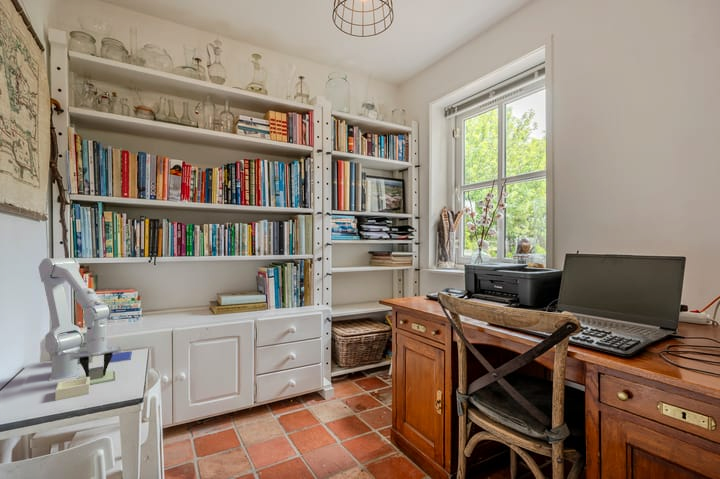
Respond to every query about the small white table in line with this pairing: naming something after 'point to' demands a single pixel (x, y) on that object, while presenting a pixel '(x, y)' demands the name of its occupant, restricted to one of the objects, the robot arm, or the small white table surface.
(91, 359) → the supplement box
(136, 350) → the small white table surface
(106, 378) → the lid
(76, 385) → the dish
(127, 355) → the hard drive
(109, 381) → the mat
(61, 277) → the robot arm
